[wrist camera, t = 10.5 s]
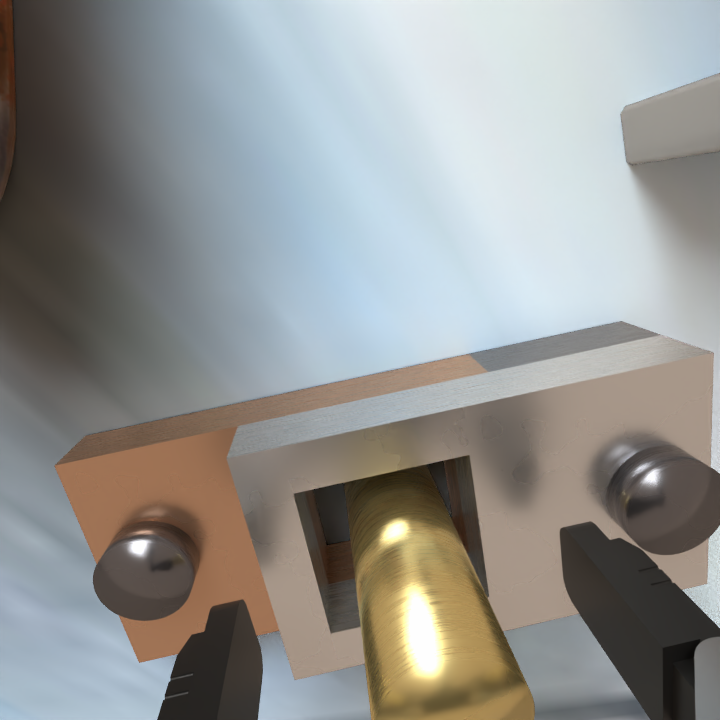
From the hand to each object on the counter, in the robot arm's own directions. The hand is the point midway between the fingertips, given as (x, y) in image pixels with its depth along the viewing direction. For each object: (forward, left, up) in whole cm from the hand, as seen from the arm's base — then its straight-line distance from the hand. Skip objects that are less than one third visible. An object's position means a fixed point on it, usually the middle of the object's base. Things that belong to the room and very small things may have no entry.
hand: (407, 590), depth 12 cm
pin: (0, 0, -6) cm, 6 cm away
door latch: (0, 0, -6) cm, 6 cm away
